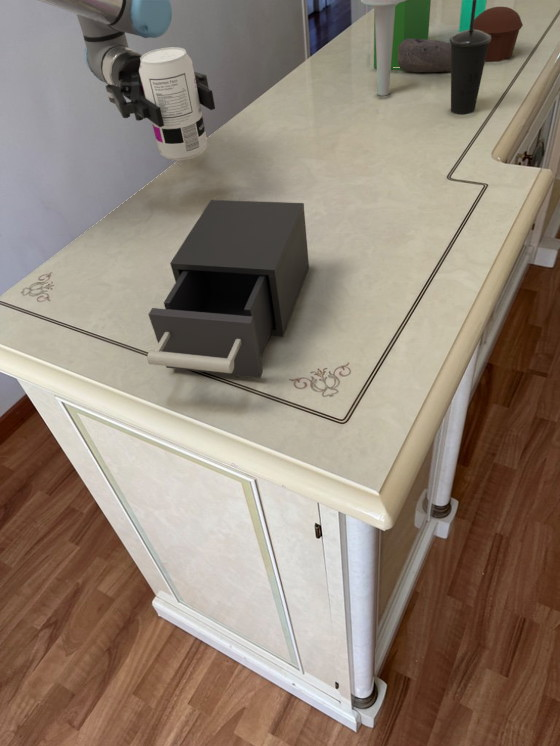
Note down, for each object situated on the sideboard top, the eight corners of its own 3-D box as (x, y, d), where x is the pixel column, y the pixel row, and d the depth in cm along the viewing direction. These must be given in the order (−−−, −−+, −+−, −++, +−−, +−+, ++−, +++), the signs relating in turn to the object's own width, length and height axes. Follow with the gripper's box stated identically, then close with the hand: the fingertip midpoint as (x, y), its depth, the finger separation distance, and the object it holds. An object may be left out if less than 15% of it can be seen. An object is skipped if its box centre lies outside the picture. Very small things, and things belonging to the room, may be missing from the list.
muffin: (508, 45, 147) (516, -1, 140) (524, 59, 139) (533, 11, 132) (461, 51, 147) (466, 6, 140) (474, 66, 139) (480, 18, 132)
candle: (472, 44, 150) (479, -10, 142) (453, 40, 153) (458, -13, 145) (486, 37, 153) (493, -17, 144) (466, 34, 156) (472, -19, 147)
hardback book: (400, 44, 156) (404, -67, 139) (427, 46, 153) (435, -68, 136) (373, 68, 145) (375, -49, 129) (402, 70, 142) (407, -50, 125)
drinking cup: (436, 109, 124) (444, 1, 110) (465, 99, 126) (477, -9, 112) (459, 120, 119) (472, 8, 105) (489, 110, 121) (505, -2, 107)
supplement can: (150, 157, 99) (125, 61, 88) (182, 137, 103) (161, 44, 93) (186, 166, 95) (164, 66, 84) (218, 145, 100) (200, 48, 89)
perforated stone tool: (463, 67, 139) (467, 35, 134) (460, 76, 136) (463, 43, 131) (400, 67, 144) (401, 35, 139) (395, 75, 141) (396, 43, 136)
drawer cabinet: (283, 336, 78) (274, 269, 71) (188, 327, 82) (169, 263, 74) (309, 267, 89) (303, 202, 81) (223, 262, 92) (210, 199, 85)
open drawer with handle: (248, 408, 69) (236, 353, 62) (151, 396, 72) (130, 342, 66) (288, 304, 82) (282, 249, 75) (204, 297, 85) (191, 244, 79)
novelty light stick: (356, 102, 132) (355, -31, 114) (366, 85, 138) (366, -43, 120) (401, 102, 129) (406, -33, 111) (409, 85, 135) (415, -45, 118)
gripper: (187, 80, 111) (248, 113, 96) (82, 113, 104) (130, 154, 90) (179, 36, 106) (241, 64, 91) (67, 68, 99) (115, 103, 84)
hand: (186, 108), depth 90 cm, fingers closed on supplement can, 8 cm apart
